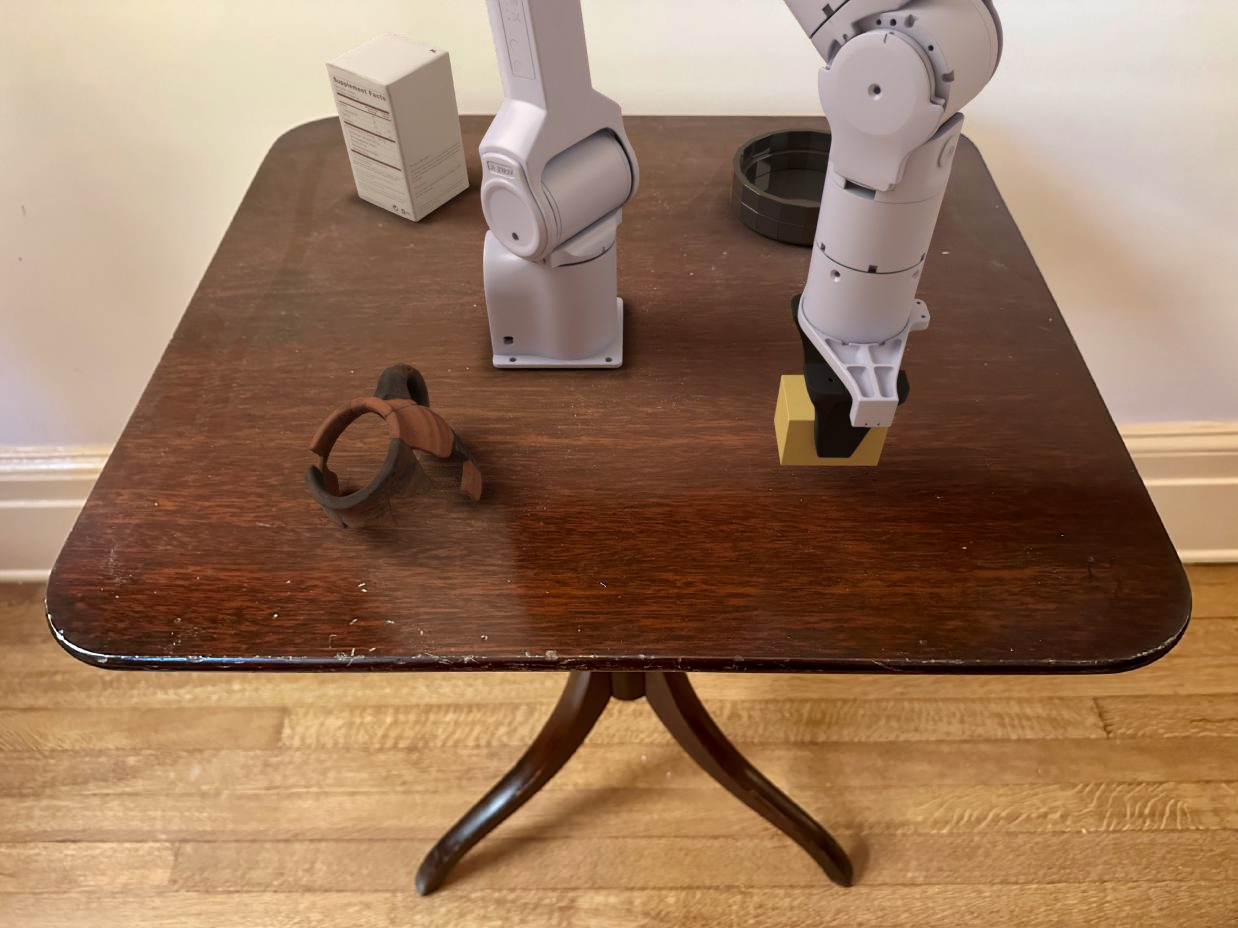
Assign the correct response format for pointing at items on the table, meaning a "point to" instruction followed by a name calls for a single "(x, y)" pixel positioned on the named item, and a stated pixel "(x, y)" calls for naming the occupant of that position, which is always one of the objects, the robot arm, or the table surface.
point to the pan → (781, 183)
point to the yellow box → (798, 430)
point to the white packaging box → (400, 123)
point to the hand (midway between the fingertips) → (828, 427)
